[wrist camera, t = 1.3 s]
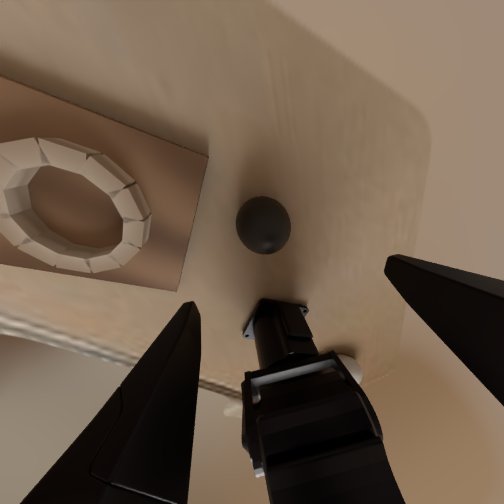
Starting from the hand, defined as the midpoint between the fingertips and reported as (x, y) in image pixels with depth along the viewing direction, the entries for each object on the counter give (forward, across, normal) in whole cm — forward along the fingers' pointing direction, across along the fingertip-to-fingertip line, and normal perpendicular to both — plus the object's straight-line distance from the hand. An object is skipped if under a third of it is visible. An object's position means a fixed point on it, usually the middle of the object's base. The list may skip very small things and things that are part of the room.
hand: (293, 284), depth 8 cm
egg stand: (+9, +12, -4) cm, 15 cm away
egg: (+9, 0, 0) cm, 9 cm away
